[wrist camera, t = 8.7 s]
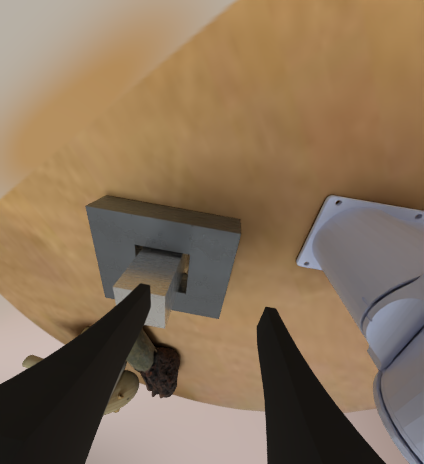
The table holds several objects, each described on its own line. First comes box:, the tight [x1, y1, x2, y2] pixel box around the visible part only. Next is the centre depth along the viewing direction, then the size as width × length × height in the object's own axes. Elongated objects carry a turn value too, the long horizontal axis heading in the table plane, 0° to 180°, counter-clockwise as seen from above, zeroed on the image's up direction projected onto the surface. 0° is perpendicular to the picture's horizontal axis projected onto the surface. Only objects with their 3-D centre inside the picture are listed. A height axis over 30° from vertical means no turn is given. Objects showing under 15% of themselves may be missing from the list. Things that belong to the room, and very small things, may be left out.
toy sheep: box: [22, 327, 139, 417], centre depth 28 cm, size 11×17×11 cm, turn 71°
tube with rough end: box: [126, 329, 180, 398], centre depth 30 cm, size 18×7×6 cm, turn 19°
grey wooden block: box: [113, 246, 187, 328], centre depth 18 cm, size 4×4×8 cm
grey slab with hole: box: [86, 195, 241, 319], centre depth 20 cm, size 14×12×3 cm
